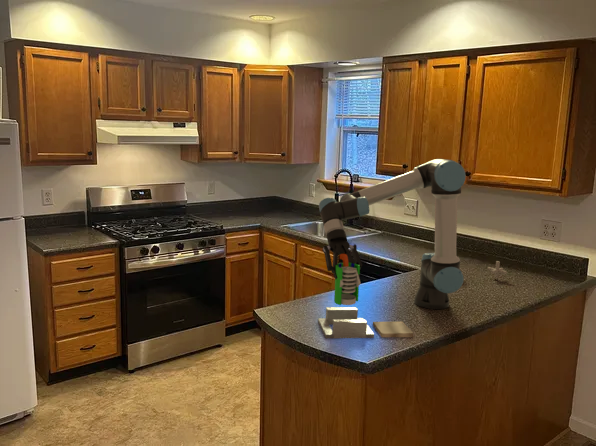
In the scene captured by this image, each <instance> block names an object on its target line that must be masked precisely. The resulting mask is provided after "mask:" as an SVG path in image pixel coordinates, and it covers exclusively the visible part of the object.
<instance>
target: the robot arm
mask: <svg viewBox="0 0 596 446" xmlns="http://www.w3.org/2000/svg"><path fill="white" fill-rule="evenodd" d="M466 178H467V177H466V171H465V168H464V167H463V166H462V165H461V164H460V163H459V162H457V161H455V160H453V159H444V158H436V159H432V160H429V161H427V162H425V163H423V164H421V165H418V166H416V167H415V166H414V168H413V170H411V171H409V172H405V173H404V174H400V175H397V176H395V177H392V178H390V179H387V180H385V181H382V182H378V183H377V184H373V185H370V186H368V187H365V188H363V189H359V190H357V191H354V192H352V193H345V194H342V195H341V196H340V199H339V201H337V200H336V199H335V198H334V197H326V198H323V199H322V200H320V202H319V203H318V208H319V214H320V218H321V222H322V224H323V227H324V228H323V229H324V232H325V235H326V240H327V243H328V245H323V247H322V249H321V250H322V253H324V258H325V264H326V270H327V271H328V272H331V274H333V278H334V280H335V279H337V278H338V277H337V275H336V265H337V264H338V262H339V256H340V254H346V255H347V257H348V263H353V264H358V265H360V270H361V269H362V267H363V262H362V260H361V258H360V255H359V253H358V250H357V244H353V245H352V244H350V243H349V242H348V237H347V232H346V231H345V227H344V224H343V223H344V222H343V221H346V220H349V219H355V218H358V217H364V216H366V215H370V214H369V213H370V206H372V205H374V204H377V203H380V202H383V201H385V200H388V199H392V198H394V197H396V196H399V195H402V194H405V193H408V192H410V191H413V190H416V189H422V190H423V189H426V188H429V187H431V188H430V189H431V195H432V196H433V197H434V252H424V253H423V254H422V256H421V260H420V262H421V264H420V265H421V266H420V276H419V285H418V287H417V290H416V293H415V296H414V299H413V300H414V301H413V302H414V304H415V305H416V306H419V307H421V308H425V309H429V310H445V309H447V308H449V307H450V299H449V298H450V297H449V294H453V293H456V292H457V291H458V290H459V289H461V287H462V286H463V284H464V280H465V279H464V275H463V272H462V271H461V260H460V257H459V256H457V239H458V237H457V234H458V233H457V228H458V225H457V224H458V223H457V222H458V220H457V219H458V218H457V217H458V198H459V196H461V195H462V186H464V184H465V181H466ZM331 252H332V253H333V254H332V257H333V258H331ZM354 266H355V265H354ZM356 267H357V266H355V268H356ZM355 273H356V276H355V277H356V280H355V281H356V287H360V285H362V283H361V279H360V277H361V271H360V272H359V274H358V272H357V269H356V272H355ZM343 285H344V284H343V280H340V287H342V286H343Z"/></svg>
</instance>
